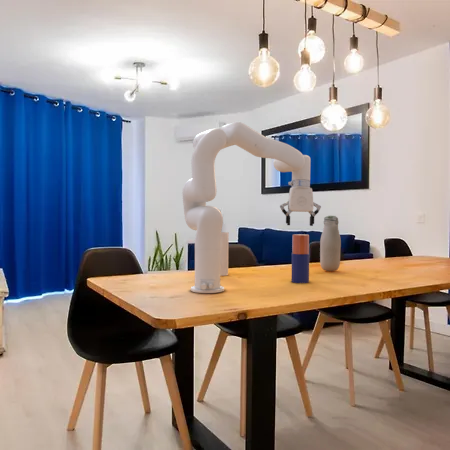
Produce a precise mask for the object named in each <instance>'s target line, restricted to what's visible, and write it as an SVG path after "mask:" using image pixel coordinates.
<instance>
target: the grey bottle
mask: <svg viewBox="0 0 450 450" xmlns="http://www.w3.org/2000/svg"><path fill="white" fill-rule="evenodd" d="M341 239H342V238H341V235H340V230H339V218H338V216H336V215H327V216H325V217H323V229H322V232H321V235H320V239H319V240H320V241H319V242H320V243H319V245H320V248H319V251H320V252H319V257H320V258H319V260H320V261H319V264H320V267H321V269H322V270H323V271H325V272H336V271H338V270H339V268H340V265H341V247H342V240H341Z"/></svg>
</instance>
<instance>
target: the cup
mask: <svg viewBox="0 0 450 450" xmlns="http://www.w3.org/2000/svg"><path fill="white" fill-rule="evenodd" d="M291 241H292V242H291V243H292V244H291V245H292V246H291V247H292V248H291V249H292V250H291V251H292V252H291V254H292V253H293V254H309V255H310V235H309V234H305V233H304V234H302V233H301V234H300V233H299V234H297V233H296V234H295V233H294V234H292V240H291Z"/></svg>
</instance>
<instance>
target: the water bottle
mask: <svg viewBox="0 0 450 450" xmlns="http://www.w3.org/2000/svg"><path fill="white" fill-rule="evenodd" d="M291 283H294V284H308V283H310V253H309V254H293V253H292V252H291Z"/></svg>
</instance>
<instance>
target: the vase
mask: <svg viewBox="0 0 450 450" xmlns="http://www.w3.org/2000/svg"><path fill="white" fill-rule="evenodd" d="M228 275H229V232H228V231H221V239H220V277H221V276H222V277H223V276H228Z"/></svg>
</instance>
